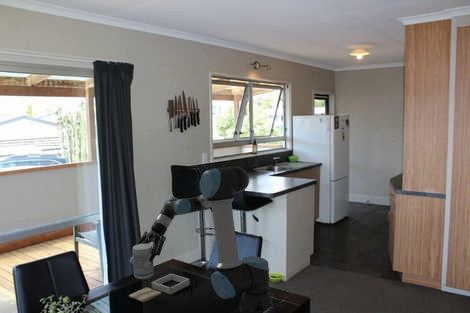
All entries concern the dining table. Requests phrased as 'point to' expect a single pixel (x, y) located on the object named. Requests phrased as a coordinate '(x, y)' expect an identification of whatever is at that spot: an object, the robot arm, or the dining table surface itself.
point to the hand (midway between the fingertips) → (138, 264)
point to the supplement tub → (142, 261)
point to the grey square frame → (182, 284)
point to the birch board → (145, 294)
